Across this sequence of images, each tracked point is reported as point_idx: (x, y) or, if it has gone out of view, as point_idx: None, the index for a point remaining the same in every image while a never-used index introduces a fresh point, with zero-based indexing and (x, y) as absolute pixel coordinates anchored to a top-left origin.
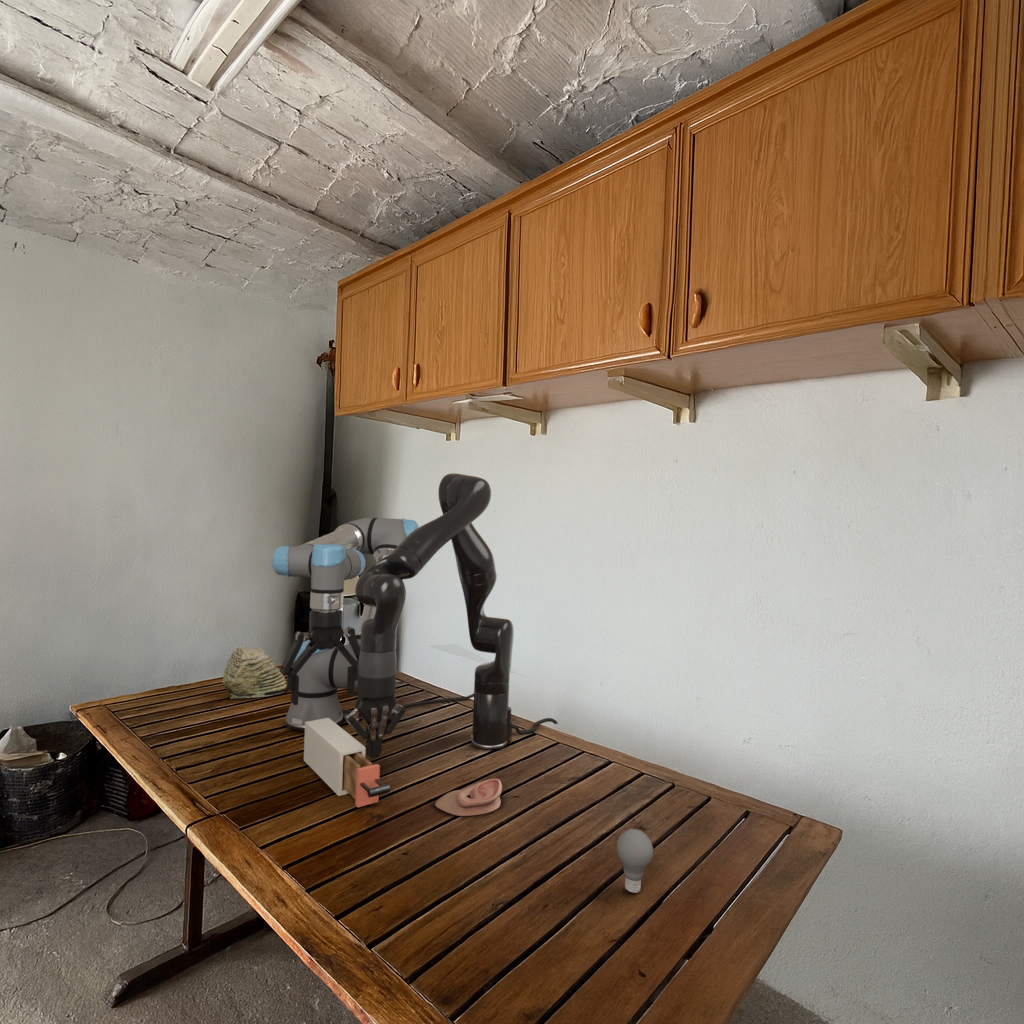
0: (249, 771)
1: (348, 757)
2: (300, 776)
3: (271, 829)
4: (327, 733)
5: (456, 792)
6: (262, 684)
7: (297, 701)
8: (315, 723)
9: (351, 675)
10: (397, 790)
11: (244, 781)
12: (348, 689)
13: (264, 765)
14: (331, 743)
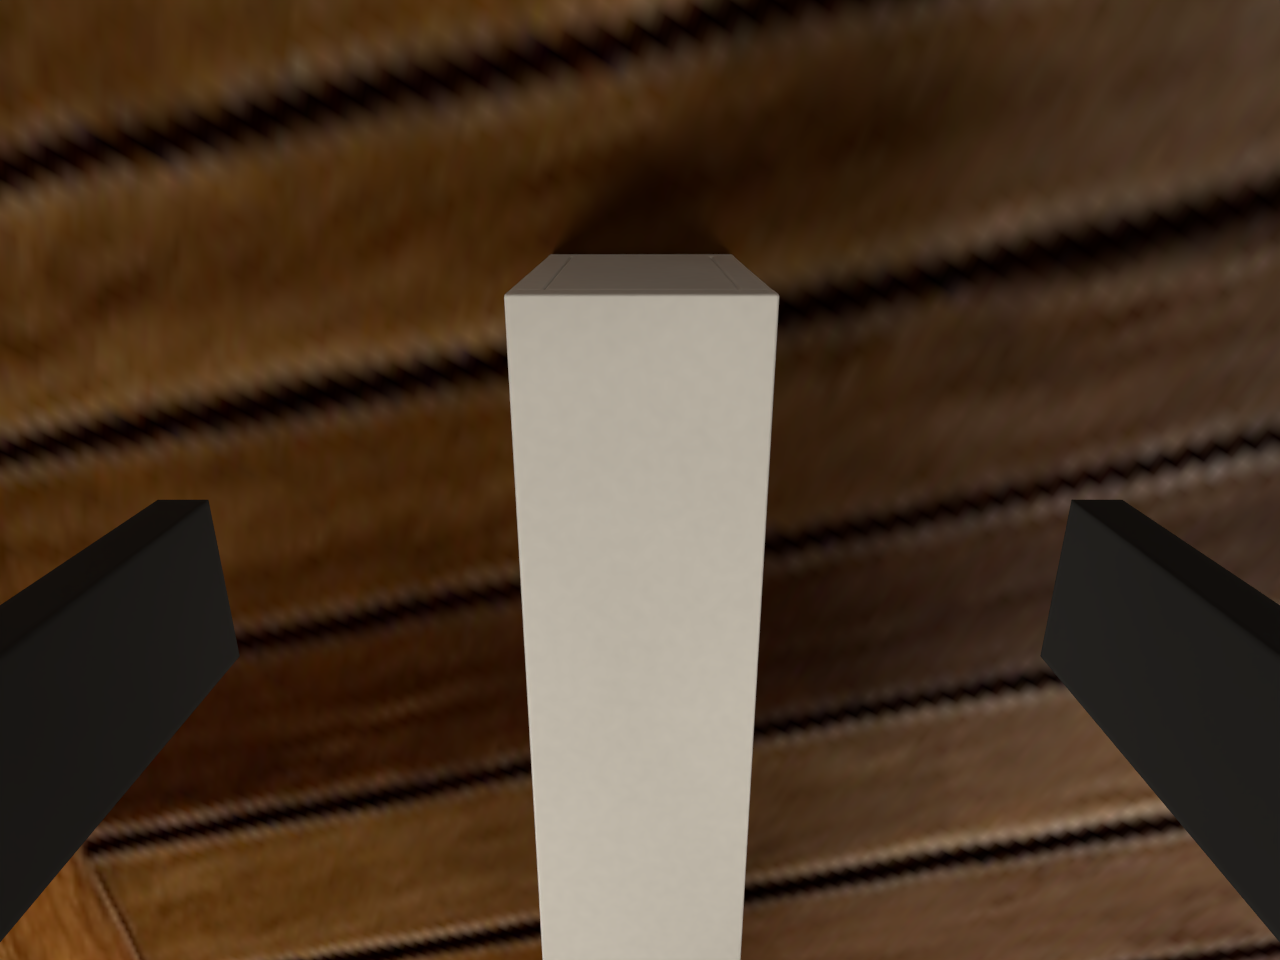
0: (161, 237)
1: None
2: (460, 488)
3: (214, 905)
4: (596, 687)
5: None
6: None
7: (206, 681)
8: (587, 398)
9: (1266, 899)
10: (848, 872)
11: (121, 380)
12: (1098, 597)
13: (273, 186)
14: (549, 869)
